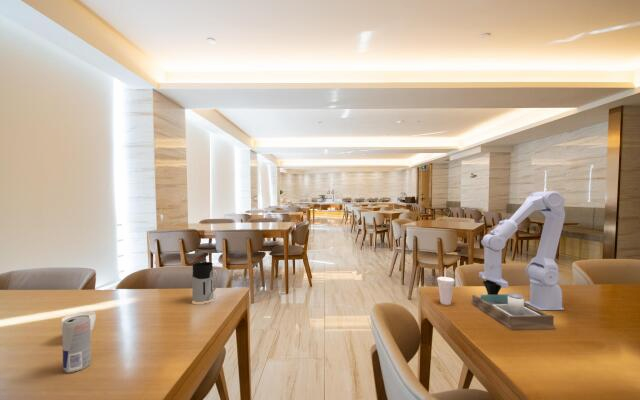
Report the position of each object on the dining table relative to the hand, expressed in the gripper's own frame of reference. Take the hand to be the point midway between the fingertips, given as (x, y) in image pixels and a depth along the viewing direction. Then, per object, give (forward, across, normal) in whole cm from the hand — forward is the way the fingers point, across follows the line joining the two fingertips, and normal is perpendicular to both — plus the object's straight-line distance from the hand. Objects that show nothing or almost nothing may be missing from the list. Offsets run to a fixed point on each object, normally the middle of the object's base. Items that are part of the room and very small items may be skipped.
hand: (492, 300), depth 111 cm
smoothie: (+2, -3, -17) cm, 17 cm away
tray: (+1, +10, 0) cm, 10 cm away
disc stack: (0, +12, 0) cm, 12 cm away
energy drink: (+2, +34, -129) cm, 133 cm away
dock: (+2, +10, 0) cm, 10 cm away
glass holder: (+2, -9, -112) cm, 112 cm away
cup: (+2, +18, -140) cm, 141 cm away
